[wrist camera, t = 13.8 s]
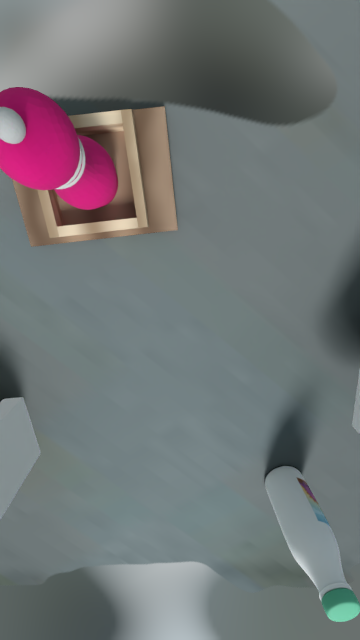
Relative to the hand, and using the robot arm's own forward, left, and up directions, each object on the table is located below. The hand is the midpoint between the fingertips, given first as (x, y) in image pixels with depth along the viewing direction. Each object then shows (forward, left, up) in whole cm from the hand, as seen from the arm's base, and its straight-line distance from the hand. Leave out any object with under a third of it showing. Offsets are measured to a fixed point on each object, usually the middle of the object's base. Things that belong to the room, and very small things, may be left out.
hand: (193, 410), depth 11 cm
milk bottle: (-17, +43, -31) cm, 56 cm away
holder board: (+9, -14, -31) cm, 35 cm away
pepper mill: (+9, -14, -30) cm, 34 cm away
